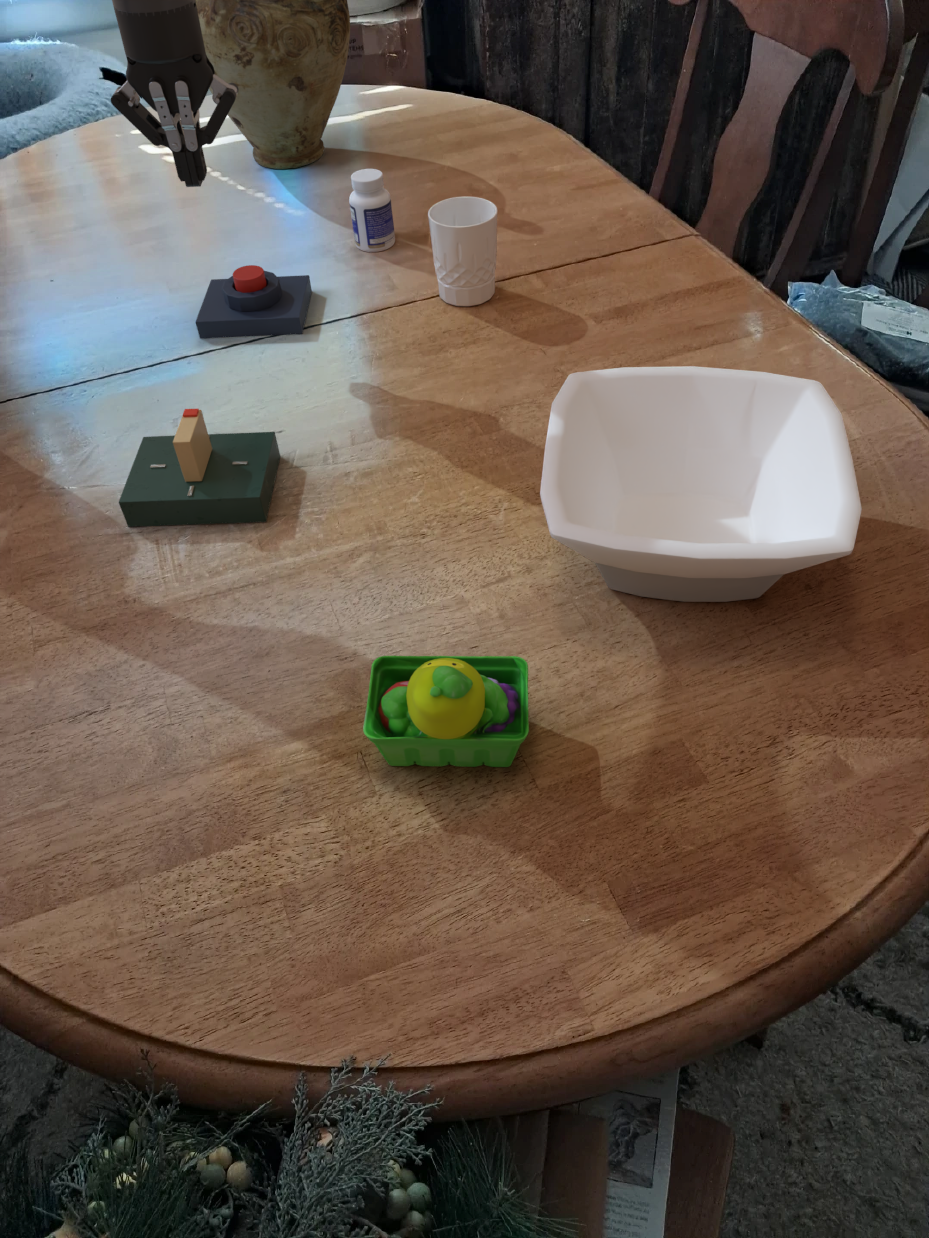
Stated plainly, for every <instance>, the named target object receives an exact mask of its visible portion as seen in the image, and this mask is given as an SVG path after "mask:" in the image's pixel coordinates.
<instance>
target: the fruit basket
mask: <svg viewBox="0 0 929 1238" xmlns="http://www.w3.org/2000/svg"><path fill="white" fill-rule="evenodd" d="M370 669H371V670H370V676H369V684H368V693H367V701H366V707H365V714H364V720H363V727H362V731H363V734H364V736H365V737H366V738H367V739H368V740H369V741H370V742H371V743H373V744H374V746H375V747H376V749H377V750H378V751H379V753H380V755H382V757H383V758H384V760H385V761H386V763H387V764H388V765H389V766H390V767H409V766H413V765H417V766H421V767H445V766H449V765H450V766H454V767H461V768H462V767H463V768H464V767H470V768H472V767H473V768H476V767H481V766H483V765H484V766H486V767H490V768H508V767H511V765H512V763H514V759H515V757H516V755H517V753H518V752H519V749H520V747H521V744H522V743H524V741H525V740H526V738H527V736H528V734H529V731H530V725H529V723H530V722H529V665H528V661H526V659H524V658H523V657H520V656H516V655H498V656H497V655H483V656H482V655H481V656H479V655H477V656H476V655H469V656H468V655H465V656H464V655H453V656H452V655H451V656H450V655H381V656H378V657H376V658H375V659H374V660H373V662H372V663H371V667H370Z"/></svg>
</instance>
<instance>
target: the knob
mask: <svg viewBox="0 0 929 1238" xmlns="http://www.w3.org/2000/svg"><path fill="white" fill-rule="evenodd" d="M208 434H209V432H208V429H207V425H206V422H205V419H204V415H203V412H202V409H199V408H184V410H183V412H182V416H181V419H180V421H179V424H178V427H177V429H176V433H175V435H174V436H175V437H174V440H173V445H174V448H175V451H176V454H177V457H178V461H179V464H180V467H181V470H182V473H183V476H184V479H185V482H194V481H202V479H203V476H204V473H205V470H206V467H207V464H208V461H209V457H210V454H211V451H212V446H211V442H210V439H209V435H208Z"/></svg>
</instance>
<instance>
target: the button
mask: <svg viewBox="0 0 929 1238" xmlns="http://www.w3.org/2000/svg"><path fill="white" fill-rule="evenodd" d="M264 271H265V270H264V268H263V267H261V266H260V265H257V264H256V265H255V264H248V265H243V266H240V267H237V268H236V269H235V270H234V271H233V272H232V276H233V279H234V283H235V288H236V290H237V291H238V292H242V293H250V292H255V291H259V290H262V289H263V288H264V287H266V285H267V284H266V279H265V274H264Z"/></svg>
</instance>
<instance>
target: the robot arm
mask: <svg viewBox="0 0 929 1238" xmlns="http://www.w3.org/2000/svg"><path fill="white" fill-rule="evenodd" d="M111 2H112V7H113V10H114V13H115V15H114V16H115V18H116V21H117V26H118V30H119V34H120V39H121V41H122V47H123V50H124V54H125V57H126V58H125V59H126V61H127V65H126V70H125V78H126V81H125V82H124V83H123V84H122V85H120V86H118V87H117V88H116V89H115V90H114V92H113V94H112V95H111V97H110V103H111V105H112V106H113V107H114V108H115V109H116V110H117V111H118V112H119V113H120V114H121V115H122V116H123V117H124V118H125V119H126V120H127V121H128V122H129V123H131V125H133V126H134V127H135V128H136V130H138V131H139V132H140V134H142V135H143V136H144V137H145V138H146V139H147V141H149V142H150V143H151V144H152V145H153V146H156V147H159V146H163V147H166V148H168V149H169V150H170V151H171V153H172V157H173V161H174V166H175V170H176V174H177V177H178V179H179V182H184V185H185V187H186V188H201V186H202V184H203V181H205V179H206V177H207V172H208V168H207V164H206V159H205V153H204V149H203V146H205V145H212V144H213V143H214V141H215V139H216V137H217V136H218V134H219V132H220V131H221V129H222V126H223V125H224V122H225V120H226V119H227V117H228V113H229V111H230V109H231V107H232V105H233V103H234V102H235V99H236V97H237V94H238V92H239V88H238V86H237V85H236V84H235V83H229V84H228V83H227V82H225V81H224V80H222V79H221V78H219V77H218V76H217V75H215V70H214V67H213V65H212V64H211V62H210V61H209V59H208V57H207V55H206V52H205V46H204V41H203V36H202V31H201V26H200V21H199V16H198V11H197V6H196V1H195V0H111ZM210 86H211V88H212V89H213V94H211V95H212V96H211V97H212V101H213V103H214V104H215V105H216V106H215V107H214V109H213V112H212V113H211V115H210V117H209V119H208V121H207V123H206V124H205V125H204V126H202V127H201V123H200V117H201V116H200V108H201V107H202V105H203V103H204V100H205V98H206V97H207V94H208V92H209V91H210V90H209V88H210ZM141 98H142V99H143V100H144V102H146V103H147V105H149V107H150V108H151V109H152V110H153V111H155V112H156V113H157V115H158V118H157V117H155V116H154V114H152V113H151V111H150V110H148V109H147V108H146V106H144V104H143V103H141Z"/></svg>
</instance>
